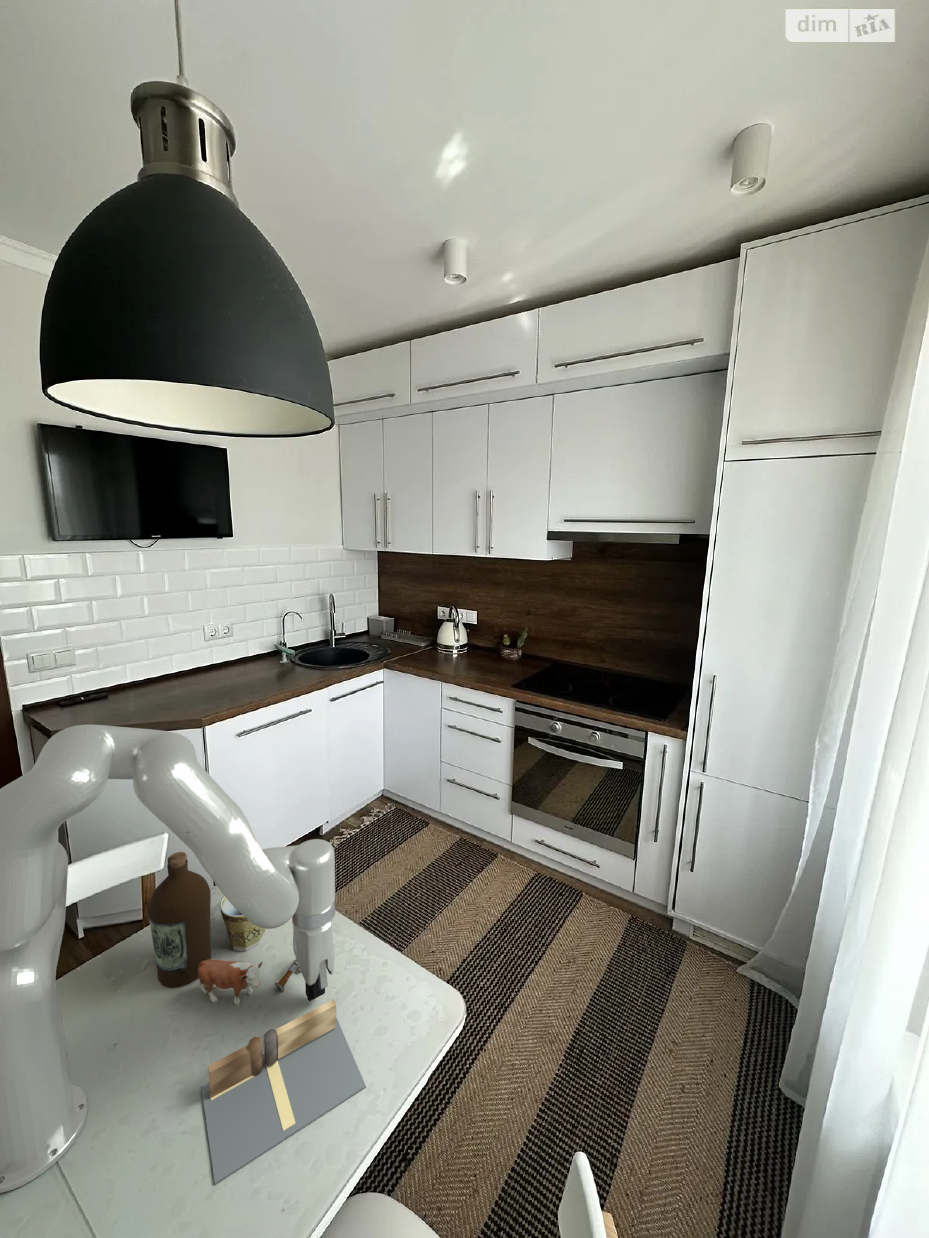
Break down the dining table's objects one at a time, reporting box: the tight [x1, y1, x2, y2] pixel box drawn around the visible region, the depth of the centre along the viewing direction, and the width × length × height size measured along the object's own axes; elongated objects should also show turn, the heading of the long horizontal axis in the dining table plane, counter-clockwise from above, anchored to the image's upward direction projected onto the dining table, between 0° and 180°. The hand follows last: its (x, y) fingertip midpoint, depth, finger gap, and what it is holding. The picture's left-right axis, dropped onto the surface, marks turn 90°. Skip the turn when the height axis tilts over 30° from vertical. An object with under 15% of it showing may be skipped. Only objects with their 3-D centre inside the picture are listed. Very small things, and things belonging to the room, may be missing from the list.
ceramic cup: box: [219, 895, 267, 952], centre depth 107 cm, size 13×10×10 cm
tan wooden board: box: [263, 999, 337, 1066], centre depth 85 cm, size 12×2×5 cm, turn 125°
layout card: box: [200, 1017, 367, 1186], centre depth 79 cm, size 22×14×1 cm, turn 124°
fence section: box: [207, 1036, 263, 1098], centre depth 79 cm, size 8×2×5 cm, turn 124°
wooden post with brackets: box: [274, 959, 302, 993], centre depth 99 cm, size 2×8×4 cm, turn 149°
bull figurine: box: [198, 958, 263, 1006], centre depth 93 cm, size 4×13×8 cm, turn 79°
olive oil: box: [147, 851, 212, 989], centre depth 97 cm, size 11×11×25 cm
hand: (315, 994), depth 93 cm, fingers closed
